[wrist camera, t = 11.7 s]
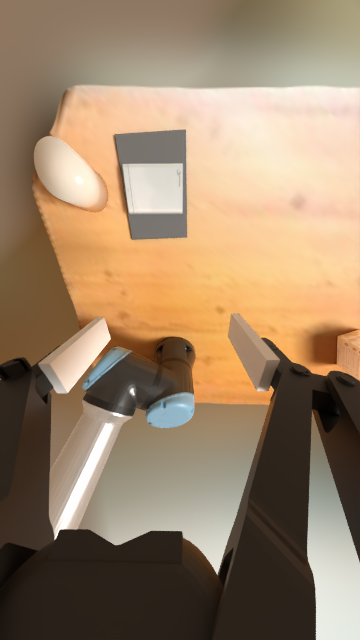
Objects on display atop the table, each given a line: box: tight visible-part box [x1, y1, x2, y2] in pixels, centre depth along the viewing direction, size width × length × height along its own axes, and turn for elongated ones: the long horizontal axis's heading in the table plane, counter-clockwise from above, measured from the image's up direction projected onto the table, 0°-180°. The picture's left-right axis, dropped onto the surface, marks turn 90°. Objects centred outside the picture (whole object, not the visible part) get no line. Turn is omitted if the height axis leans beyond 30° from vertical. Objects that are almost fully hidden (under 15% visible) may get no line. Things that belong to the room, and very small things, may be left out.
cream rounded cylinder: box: [34, 136, 108, 213], centre depth 28 cm, size 8×8×9 cm
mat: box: [115, 130, 187, 240], centre depth 31 cm, size 18×14×1 cm
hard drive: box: [122, 163, 183, 214], centre depth 31 cm, size 2×8×12 cm
